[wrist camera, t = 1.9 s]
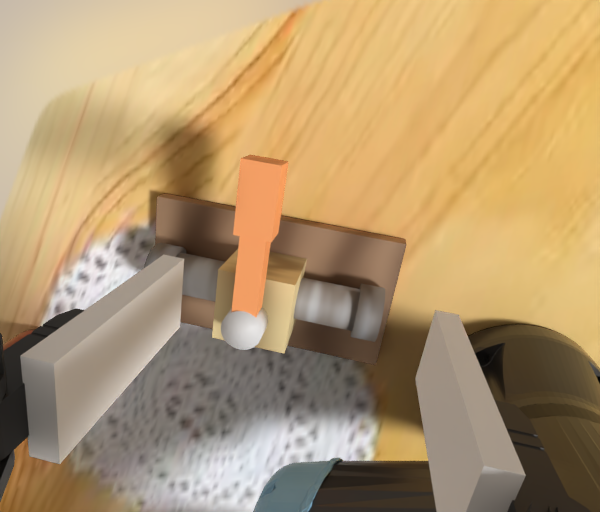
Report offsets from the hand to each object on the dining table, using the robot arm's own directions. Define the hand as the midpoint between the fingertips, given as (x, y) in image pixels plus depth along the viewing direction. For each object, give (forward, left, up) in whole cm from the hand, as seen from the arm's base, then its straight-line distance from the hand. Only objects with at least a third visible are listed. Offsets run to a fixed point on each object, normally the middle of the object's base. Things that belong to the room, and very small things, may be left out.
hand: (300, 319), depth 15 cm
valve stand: (+5, +9, -23) cm, 26 cm away
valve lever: (+5, +4, -15) cm, 16 cm away
